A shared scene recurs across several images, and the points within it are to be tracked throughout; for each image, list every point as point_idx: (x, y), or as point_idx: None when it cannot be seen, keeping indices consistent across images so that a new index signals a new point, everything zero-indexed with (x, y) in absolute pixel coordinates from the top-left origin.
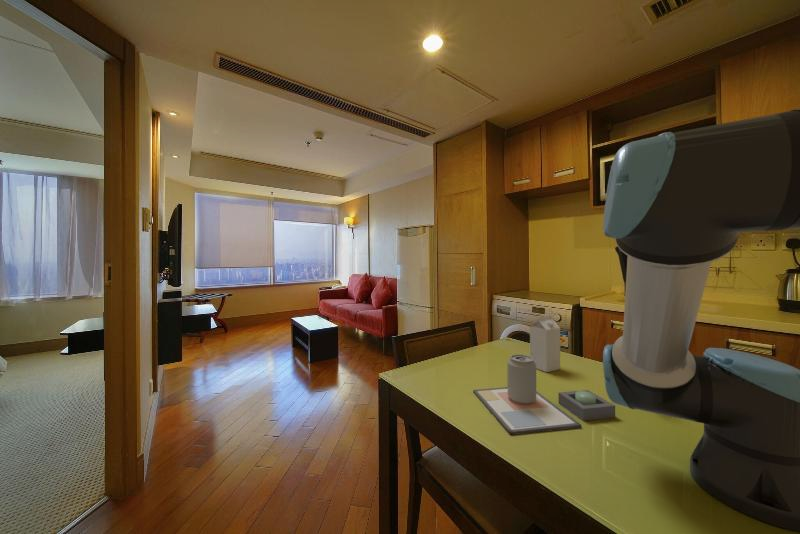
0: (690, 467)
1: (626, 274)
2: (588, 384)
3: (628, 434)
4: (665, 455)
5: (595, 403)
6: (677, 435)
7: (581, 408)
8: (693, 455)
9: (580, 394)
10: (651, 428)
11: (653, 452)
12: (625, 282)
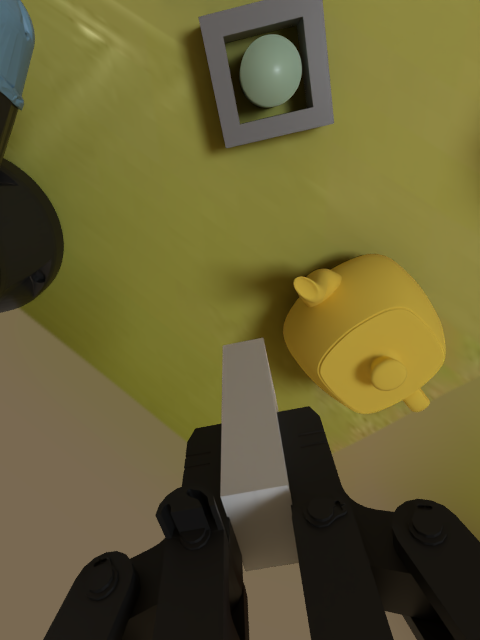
0: (2, 162)
1: (456, 624)
2: (431, 193)
3: (143, 126)
4: (67, 156)
5: (247, 96)
6: (155, 244)
7: (205, 16)
8: (12, 182)
9: (275, 53)
10: (179, 206)
11: (73, 136)
12: (413, 500)
